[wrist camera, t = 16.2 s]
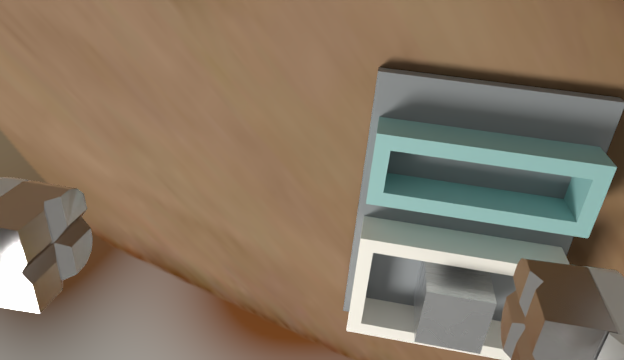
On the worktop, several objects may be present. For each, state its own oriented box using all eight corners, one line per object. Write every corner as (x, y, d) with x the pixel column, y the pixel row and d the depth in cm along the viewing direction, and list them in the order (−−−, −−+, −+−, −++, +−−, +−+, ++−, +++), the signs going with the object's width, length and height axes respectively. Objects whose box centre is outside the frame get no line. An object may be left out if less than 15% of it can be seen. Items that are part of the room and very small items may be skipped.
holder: (620, 97, 32) (646, 119, 28) (529, 335, 41) (540, 374, 37) (378, 67, 33) (375, 84, 30) (344, 302, 43) (338, 336, 39)
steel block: (486, 258, 37) (496, 303, 33) (472, 305, 39) (480, 354, 35) (424, 248, 38) (426, 291, 33) (413, 295, 40) (414, 341, 35)
